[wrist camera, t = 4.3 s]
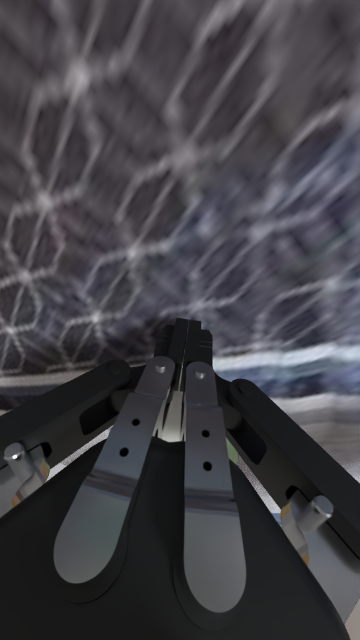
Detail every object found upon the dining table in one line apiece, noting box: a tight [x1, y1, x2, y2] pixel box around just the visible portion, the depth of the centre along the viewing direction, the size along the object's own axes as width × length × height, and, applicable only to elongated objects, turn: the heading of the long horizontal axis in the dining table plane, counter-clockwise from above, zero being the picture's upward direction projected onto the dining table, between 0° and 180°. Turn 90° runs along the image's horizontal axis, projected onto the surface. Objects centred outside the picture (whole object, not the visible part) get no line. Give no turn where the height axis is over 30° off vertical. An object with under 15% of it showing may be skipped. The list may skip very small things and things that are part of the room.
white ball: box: [162, 370, 183, 442], centre depth 16 cm, size 6×6×6 cm
